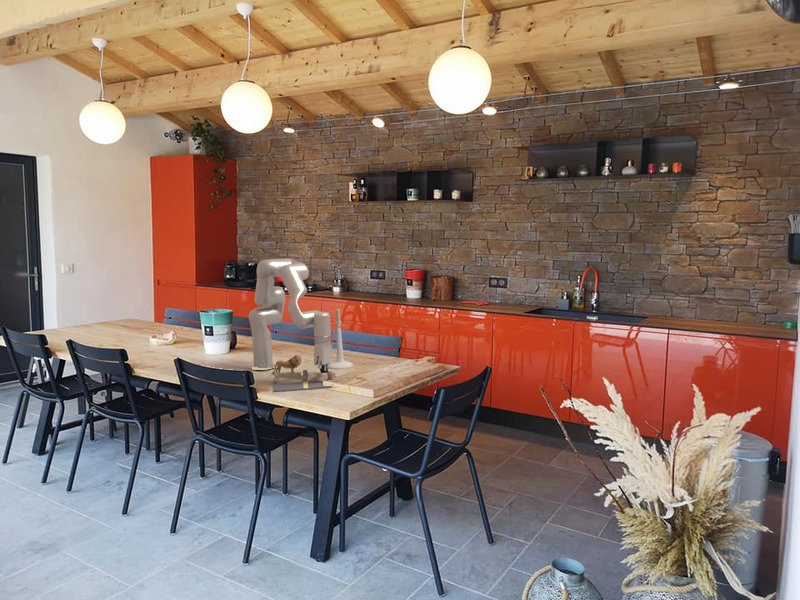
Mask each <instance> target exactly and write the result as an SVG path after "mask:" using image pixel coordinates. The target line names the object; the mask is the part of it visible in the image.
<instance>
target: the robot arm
mask: <svg viewBox="0 0 800 600" xmlns="http://www.w3.org/2000/svg"><path fill="white" fill-rule="evenodd" d="M309 276H310V270H309V268H308V267H307V265H306V264H305V263H303V262H301V261H299V260H295V259H293V258H271V259H270V258H269V259H263V260H260V261H259V262H258V264H257V267H256V286H255V292H254V303H255V304H256V306H258V307H255V308H252V309H251V310H250V311H249V313H248V321H249V325H250V330H251V339H252V355H253V366H254V367H258V368H268V367H269V368H273V367H275V365H276V363H275V364H274V360H273V345H272V333H271V331H270V329H269V328H268V326H270V325H275V324H276V325H277V324H278V323H280V322H281V321H282V320H283V317H284V316H283V315H284V309H285V303H286V293H285V290H284V289H283V288H282V287H281V286H276V285H275V278H274V277H280V278H281V280H282V283H283V284H284V287H285V288H286V290H287V292H288V295H289V301H288V305H287V307H288V314H289V316H290V318H291V321H292V323H293V324H294V325H295V327H296V328H298V329H308V328H313V337H314V346H313V347H314V348H313V365H315V366H317V369H319V373H328V371H329V368H328V366H329V364H330V363H332V360H333V353H332V352H333V351H332V345H331V343H332V332H331V331H332V329H331V327H332V325H331V315H330V312H326V311H320V310H317V309H316V310H307V311H301V309H300V307H299V304H298V300H300V299H302V298H303V297H304V296H305V295H306V294H307V292H308V288H307V286H306V284H305V283H304V281H305V280H307V279H308V278H309ZM273 364H274V365H273Z"/></svg>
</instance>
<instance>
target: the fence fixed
mask: <svg viewBox="0 0 800 600" xmlns="http://www.w3.org/2000/svg"><path fill="white" fill-rule="evenodd" d="M273 372H274V371H273ZM307 373H308V369H303V370H302V372H295V373H292V372H290V373H289V372H287V373H282V374H279V372H278V371H277V372H276V371H275V372H274V373H273V374H274V375H273V376H274V383H286V382H299V381H302V379H301V375H303V381H308V377H307Z"/></svg>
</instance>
